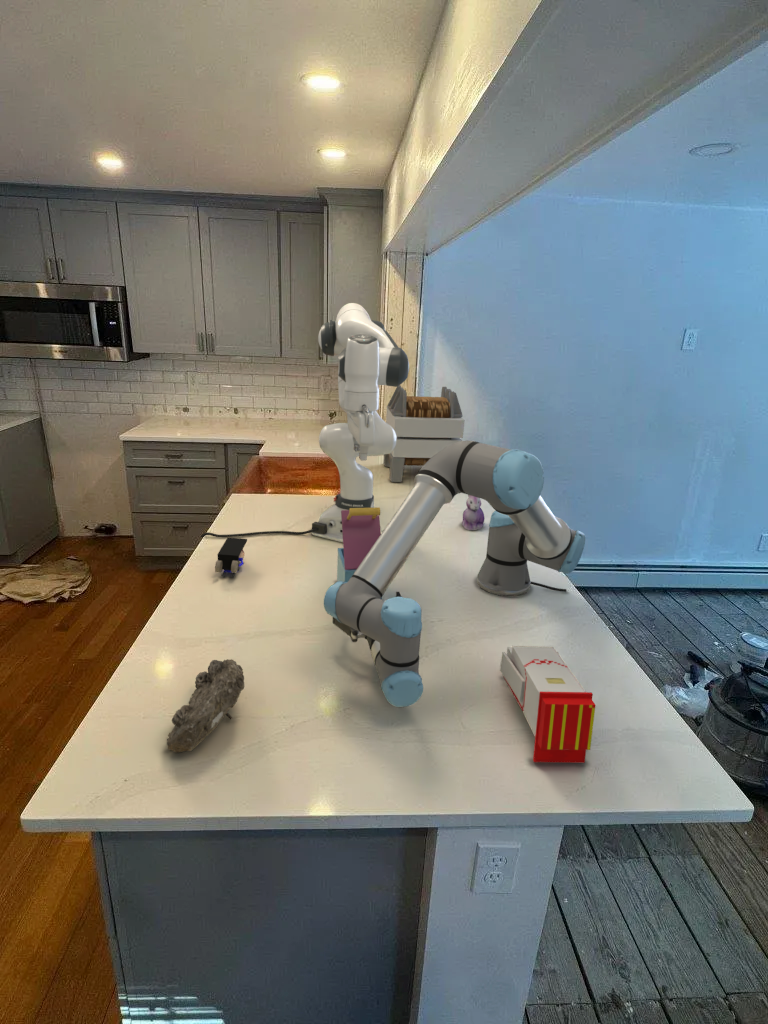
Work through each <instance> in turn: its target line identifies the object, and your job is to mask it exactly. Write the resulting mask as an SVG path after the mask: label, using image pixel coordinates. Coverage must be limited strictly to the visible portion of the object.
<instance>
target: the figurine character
mask: <svg viewBox="0 0 768 1024" xmlns="http://www.w3.org/2000/svg"><path fill="white" fill-rule="evenodd" d="M247 542H248V538H240V537H226V539H225V541H224V543H223V544H222V546H221V547H220V549H219V551H218V552H217V560H216V562H215V564H214V572H215V573H221V577H222V578H224V577H225V576H226V574H227V573H230V574H231V573H232V574H231V578H234V577H235V575H236V573H237V572H239V571H240V567H242V566H243V565H244V564H245V562H244V558H245V551H244V547H245V546H246V544H247Z"/></svg>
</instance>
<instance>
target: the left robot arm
mask: <svg viewBox="0 0 768 1024" xmlns="http://www.w3.org/2000/svg"><path fill="white" fill-rule="evenodd" d="M317 342H318V346H319V348H320V349H321V352H322V353H323V354H324V355H326V356H330V357H334V356H337V357H338V368H337V369H338V371H337V389H338V390H337V391H338V392H337V393H338V404H339V408H340V409H341V410H342V411H343V412H344V413H346V418H347V420H346V421H347V422H337V423H330V424H327V425H323V427H322V429H321V430H320V432H319V435H318V445H319V447H320V450H321V451H322V452H323V454H325V455H326V456H328V457H329V458H330V459H331V460H332V462H333V463H334V464H335V466H336V467H337V470H338V474H339V483H340V484H339V485H340V488H339V489H340V490H339V491H338V492H337V494H336V495H335V496H334V497H333V502H334V504H333V505H331V506H329V507H328V508H326V509H325V510H323V512H321V514H320V515H319V517H318V521H314V522H312V523H311V529H308V530H306V531H305V530H304V531H287V530H268V531H267V530H266V531H253V532H245V533H232V534H217V533H213V532H204V533H203V534H202V535H200V538H204V537H206V536H212V537H215V538H239V537H249V536H256V535H258V536H259V535H272V534H274V535H277V534H281V535H282V534H284V535H297V536H299V535H300V536H301V535H307V534H311V536H315V537H319V538H323V539H326V540H330V541H336V542H339V543H343V534H342V519H341V511H342V510H349V509H350V508H375V496H374V474H373V472H372V471H371V469H369V468H368V467H366V466H364V465H362V464H360V463H359V462H357V458H359V460H360V461H362V462H363V461H367V459H368V457H380V456H384V455H385V454H389V453H391V452H392V451H393V450H394V448H395V446H396V442H397V437H396V433H395V431H394V429H393V428H392V427H391V426H390V425H389V424H387V423H386V420H384V419H383V418H382V417H381V415H380V414H379V413H378V410H379V409H380V408H379V407H380V405H379V404H380V387H379V386H386V387H395V388H397V387H398V386H399V385H400V386H401V385H402V384H403V383H405V381H407V379H408V377H409V371H410V362H409V361H410V360H409V356H408V354H407V353H406V352H405V351H404V349H403V348H402V347H400V346H399V345H398V344H397V342H395V340H394V339H393V337H392V336H391V335H390V333H389V332H388V331H387V330H386V328H385V325H384V323H382V322H381V321H379V320H375V319H371V317H370V315H369V313H368V311H367V310H366V309H365V307H363V305H361V304H359V303H357V302H349V303H346V304H344V305H343V306H342V307H341V308H340V309H339V310H338V313H337V315H336V319H335V320H333V319H329V321H328V322H324V323H323V324H322V325H321V326H320V329H319V331H318V335H317Z"/></svg>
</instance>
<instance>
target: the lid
mask: <svg viewBox="0 0 768 1024" xmlns="http://www.w3.org/2000/svg"><path fill="white" fill-rule="evenodd" d="M380 515H381V507H380V506H379V507H378V506H377V507H375V506H374V508H350V509H349V510H342V511H341V519H342V534H343V542H342V548H343V550H344V566H345V570H352V569H357V568H358V567H359V565H360V564H361V562H362V561H363V560H364V558H365V557H366V555H367V554H368V552H369V551H370V549H371V548H372V547H373V545H374V544H375V542H376V541H377V539H378V538H379V536H380V535H381V534H382V531H381V518H380Z"/></svg>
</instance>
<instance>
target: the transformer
mask: <svg viewBox="0 0 768 1024" xmlns="http://www.w3.org/2000/svg"><path fill="white" fill-rule="evenodd" d="M440 393H441V394H440V396H415V395H414V396H413V395H412V396H411V395H407V394H408V393H407V390H406V389H404V388H403V387H402V385H401V384H400V385H399V386H398V387H395V390H394V392H393V394H392V395H391V398H390V400H389V402H388V404H387V405H386V413H385V414H386V415H385V422H386V423H387V424H389V425H390V426H391V427H392V428H393V429H394V431H395V433H396V437H397V442H396V446H395V448H394V450H393V451H392V452H391V453H389V454H385V455H383V466H384V467H388V468H389V475H388V476H389V477H388V478H389V480H390V482H391V483H402V482H403V475H404V469H405V466H406V467H407V466H411V467H412V466H413V467H415V466H416V467H417V466H418V467H423V465H424V464H425V463H426V462H427V461H428V460H429V459H431V458H432V457H433V456H434V455H435V454H436V453H438V452H439V451H441V450H442V449H444V448H445V447H447V446H449V445H451V444H454V443H457V442H460V441H463V440H462V439H463V438H464V431H465V430H464V429H465V419H464V418H463V411H462V408H461V405H460V402H459V398H458V395H457V392H455V391H453V390H452V389H451V388H447V386H442V387H441V392H440Z"/></svg>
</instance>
